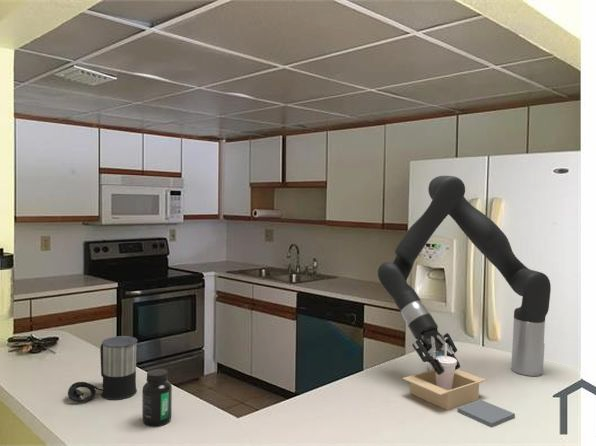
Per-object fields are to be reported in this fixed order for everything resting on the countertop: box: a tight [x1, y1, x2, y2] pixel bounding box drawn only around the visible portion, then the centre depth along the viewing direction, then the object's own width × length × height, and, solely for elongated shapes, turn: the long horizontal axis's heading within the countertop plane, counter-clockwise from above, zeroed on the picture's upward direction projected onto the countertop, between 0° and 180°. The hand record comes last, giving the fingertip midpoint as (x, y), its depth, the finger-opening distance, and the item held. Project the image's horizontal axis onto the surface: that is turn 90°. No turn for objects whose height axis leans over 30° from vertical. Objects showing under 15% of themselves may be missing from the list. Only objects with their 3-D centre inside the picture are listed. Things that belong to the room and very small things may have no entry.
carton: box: [402, 369, 487, 411], centre depth 138 cm, size 20×13×5 cm
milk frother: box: [67, 335, 138, 403], centre depth 132 cm, size 14×16×15 cm
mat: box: [456, 399, 516, 428], centre depth 127 cm, size 10×10×1 cm
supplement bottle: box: [141, 368, 173, 428], centre depth 119 cm, size 7×7×12 cm
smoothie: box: [435, 343, 458, 390], centre depth 138 cm, size 6×6×14 cm
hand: (449, 370), depth 137 cm, fingers closed on smoothie, 6 cm apart
